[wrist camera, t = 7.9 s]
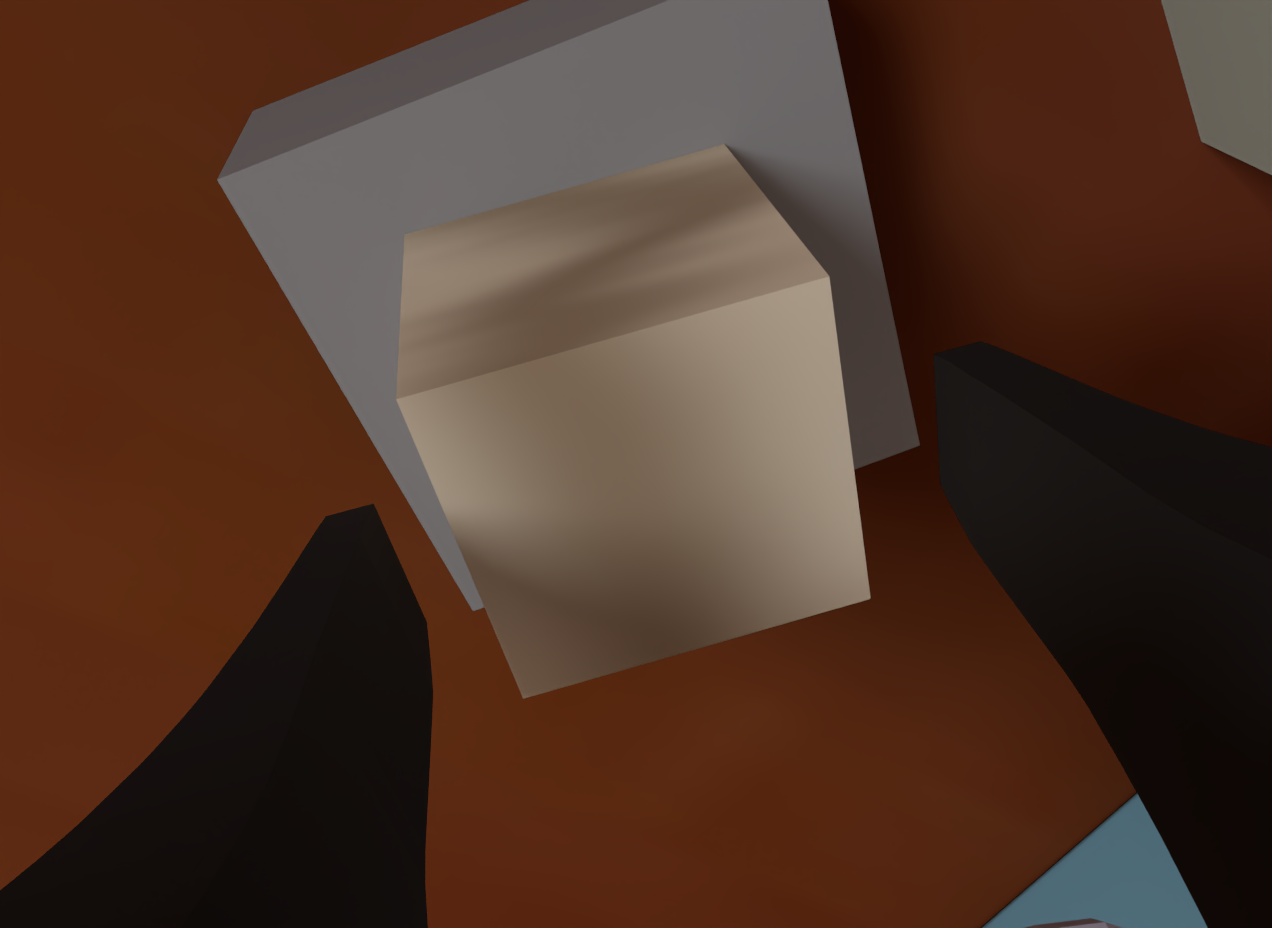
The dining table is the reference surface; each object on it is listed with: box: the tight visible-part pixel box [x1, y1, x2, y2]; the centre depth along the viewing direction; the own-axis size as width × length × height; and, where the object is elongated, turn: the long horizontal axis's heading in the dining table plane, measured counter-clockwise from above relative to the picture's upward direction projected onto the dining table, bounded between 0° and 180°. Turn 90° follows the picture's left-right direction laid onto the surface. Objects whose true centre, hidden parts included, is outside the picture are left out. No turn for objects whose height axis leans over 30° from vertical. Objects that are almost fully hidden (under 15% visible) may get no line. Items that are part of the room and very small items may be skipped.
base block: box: [217, 0, 920, 611], centre depth 19 cm, size 9×9×4 cm
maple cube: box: [396, 144, 871, 699], centre depth 15 cm, size 5×5×5 cm
